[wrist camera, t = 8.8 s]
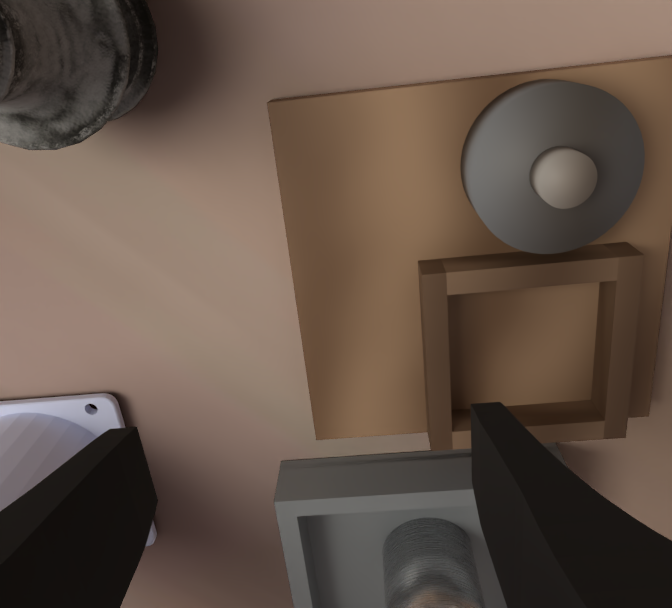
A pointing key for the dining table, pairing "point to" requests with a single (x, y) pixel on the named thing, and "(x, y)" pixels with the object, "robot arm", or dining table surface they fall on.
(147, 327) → the dining table surface
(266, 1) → the dining table surface
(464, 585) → the pin
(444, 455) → the tray
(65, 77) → the grey tiered figure
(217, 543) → the dining table surface
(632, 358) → the board
